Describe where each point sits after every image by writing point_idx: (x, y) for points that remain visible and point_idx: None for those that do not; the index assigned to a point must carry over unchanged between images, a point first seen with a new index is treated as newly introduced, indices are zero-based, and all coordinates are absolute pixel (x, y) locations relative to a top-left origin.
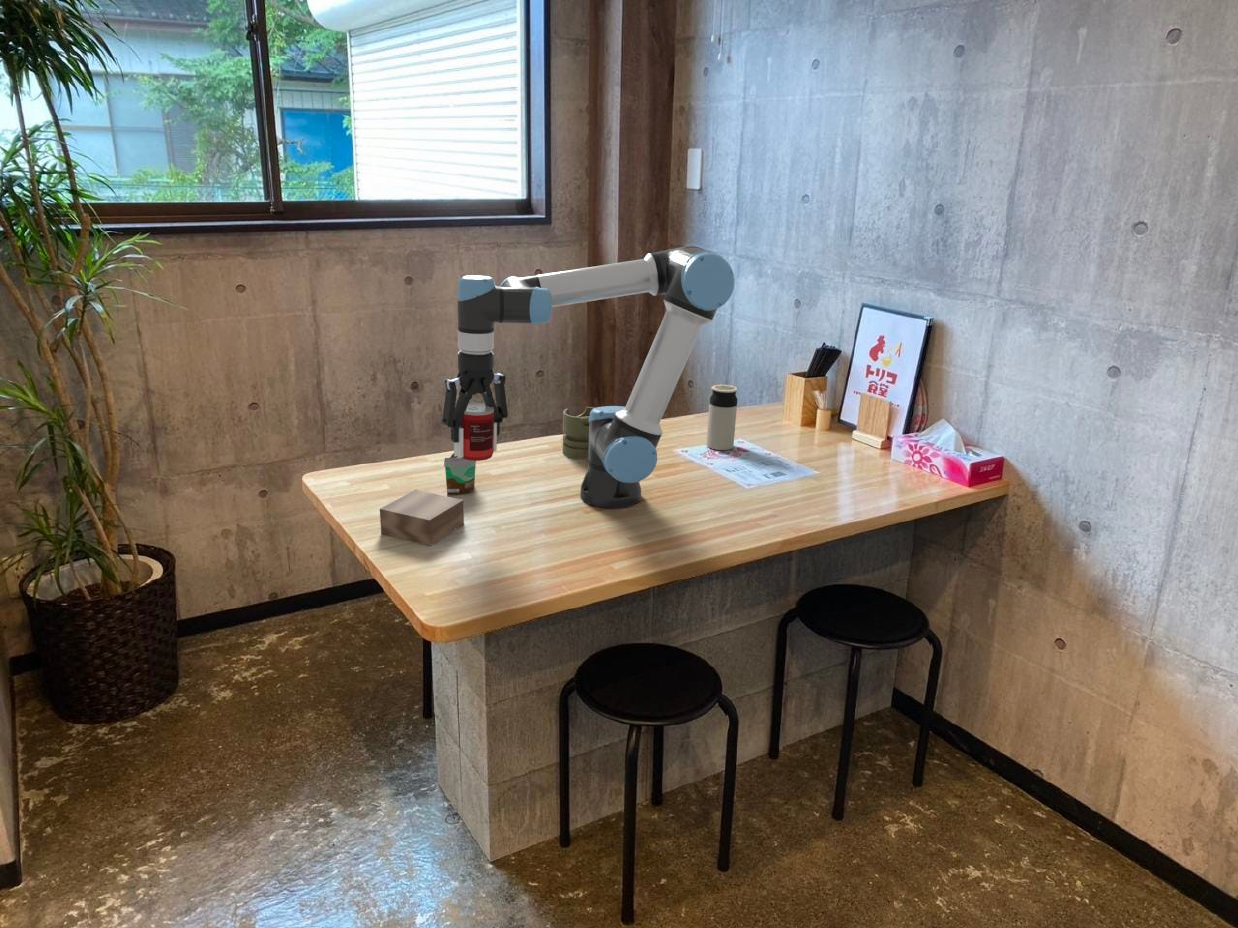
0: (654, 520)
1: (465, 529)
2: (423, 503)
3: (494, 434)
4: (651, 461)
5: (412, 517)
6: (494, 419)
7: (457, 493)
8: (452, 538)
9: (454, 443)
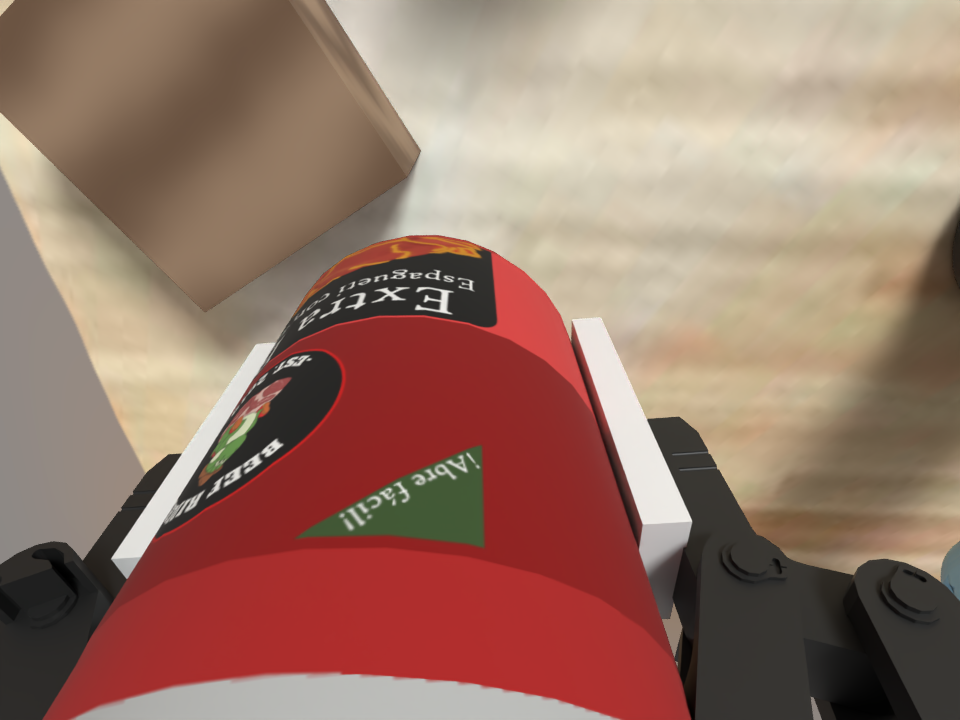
0: (956, 429)
1: (408, 199)
2: (200, 115)
3: None
4: None
5: (137, 240)
6: (684, 622)
7: None
8: (338, 248)
9: (219, 410)
